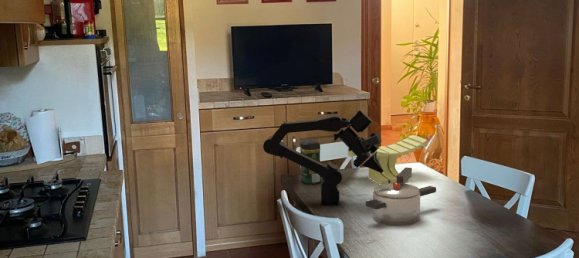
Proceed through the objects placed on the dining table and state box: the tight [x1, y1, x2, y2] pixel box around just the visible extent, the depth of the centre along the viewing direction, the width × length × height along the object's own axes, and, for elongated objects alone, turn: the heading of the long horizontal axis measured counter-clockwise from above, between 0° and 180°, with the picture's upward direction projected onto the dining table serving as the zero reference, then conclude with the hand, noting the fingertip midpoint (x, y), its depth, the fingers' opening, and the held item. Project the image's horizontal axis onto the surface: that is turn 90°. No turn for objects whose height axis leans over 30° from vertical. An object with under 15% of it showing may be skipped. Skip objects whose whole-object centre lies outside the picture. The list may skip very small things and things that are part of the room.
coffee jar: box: [299, 138, 322, 185], centre depth 255 cm, size 10×8×19 cm
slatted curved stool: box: [347, 134, 428, 185], centre depth 256 cm, size 30×16×18 cm, turn 105°
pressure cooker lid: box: [373, 167, 420, 199], centre depth 208 cm, size 27×15×4 cm, turn 156°
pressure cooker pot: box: [365, 185, 437, 227], centre depth 206 cm, size 31×16×9 cm, turn 126°
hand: (382, 172), depth 217 cm, fingers closed
